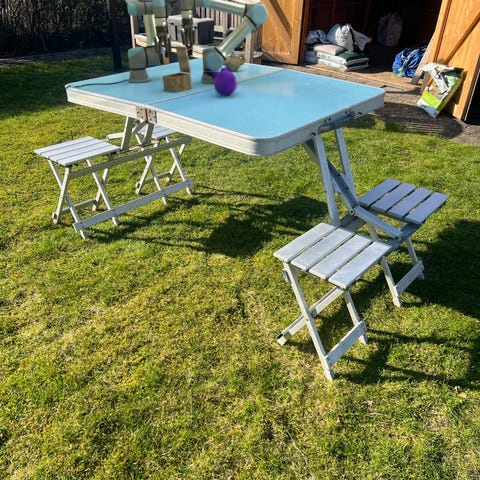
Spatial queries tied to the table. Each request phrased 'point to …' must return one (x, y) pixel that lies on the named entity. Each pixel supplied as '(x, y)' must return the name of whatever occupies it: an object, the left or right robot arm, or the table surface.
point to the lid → (183, 59)
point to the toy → (224, 81)
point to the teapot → (234, 61)
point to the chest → (177, 82)
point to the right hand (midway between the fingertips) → (189, 55)
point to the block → (165, 60)
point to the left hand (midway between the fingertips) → (164, 63)
